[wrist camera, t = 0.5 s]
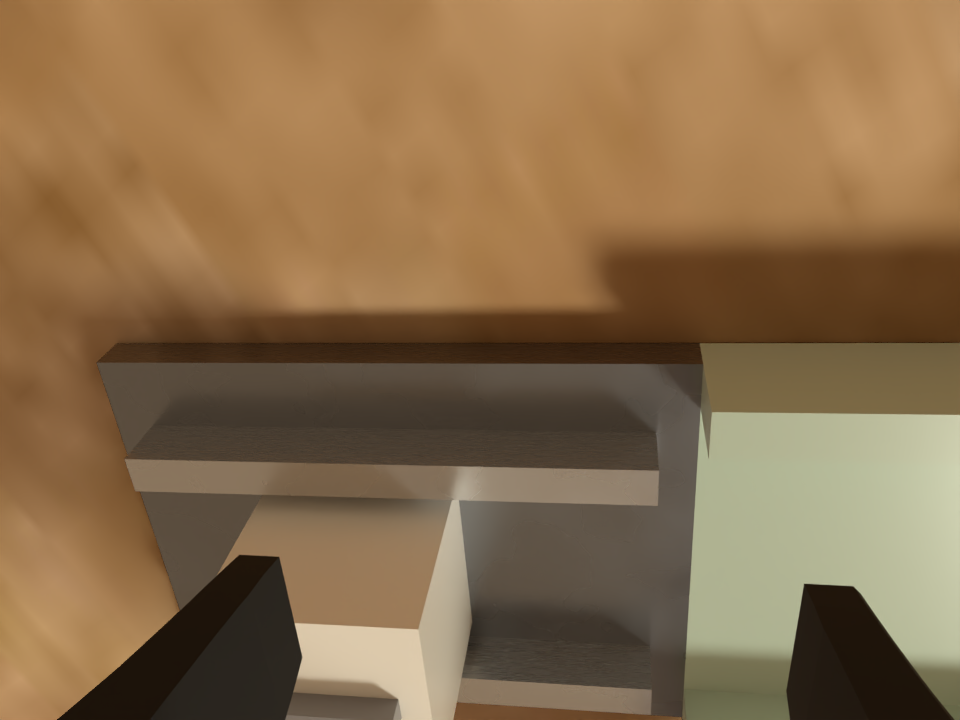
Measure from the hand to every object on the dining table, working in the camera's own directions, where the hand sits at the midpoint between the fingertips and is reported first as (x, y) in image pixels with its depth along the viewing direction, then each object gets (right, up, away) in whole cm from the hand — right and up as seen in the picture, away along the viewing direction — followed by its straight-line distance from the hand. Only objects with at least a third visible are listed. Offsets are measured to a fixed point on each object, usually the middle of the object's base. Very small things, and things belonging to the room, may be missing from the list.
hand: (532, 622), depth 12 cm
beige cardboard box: (-4, -2, +12) cm, 12 cm away
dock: (-3, -1, +12) cm, 13 cm away
